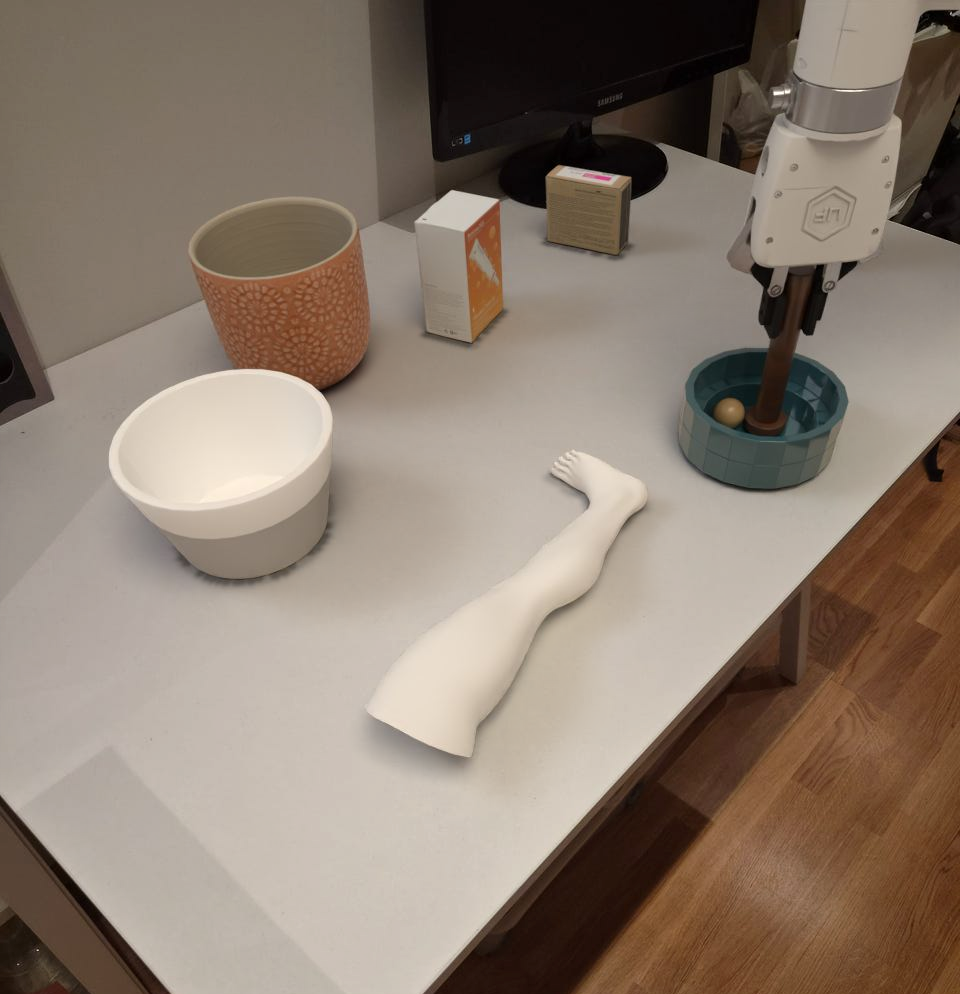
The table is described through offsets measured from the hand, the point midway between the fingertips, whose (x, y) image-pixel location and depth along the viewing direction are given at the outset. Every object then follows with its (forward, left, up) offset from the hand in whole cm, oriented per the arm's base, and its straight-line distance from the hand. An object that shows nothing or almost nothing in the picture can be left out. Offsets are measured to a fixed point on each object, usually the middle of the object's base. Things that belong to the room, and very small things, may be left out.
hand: (787, 327), depth 77 cm
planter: (+46, +21, -12) cm, 52 cm away
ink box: (+38, -20, -12) cm, 45 cm away
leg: (+4, +33, -12) cm, 35 cm away
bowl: (+30, +41, -12) cm, 52 cm away
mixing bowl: (0, +2, -12) cm, 12 cm away
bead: (+3, +2, -10) cm, 10 cm away
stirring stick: (0, 0, -11) cm, 11 cm away
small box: (+38, +3, -12) cm, 40 cm away
